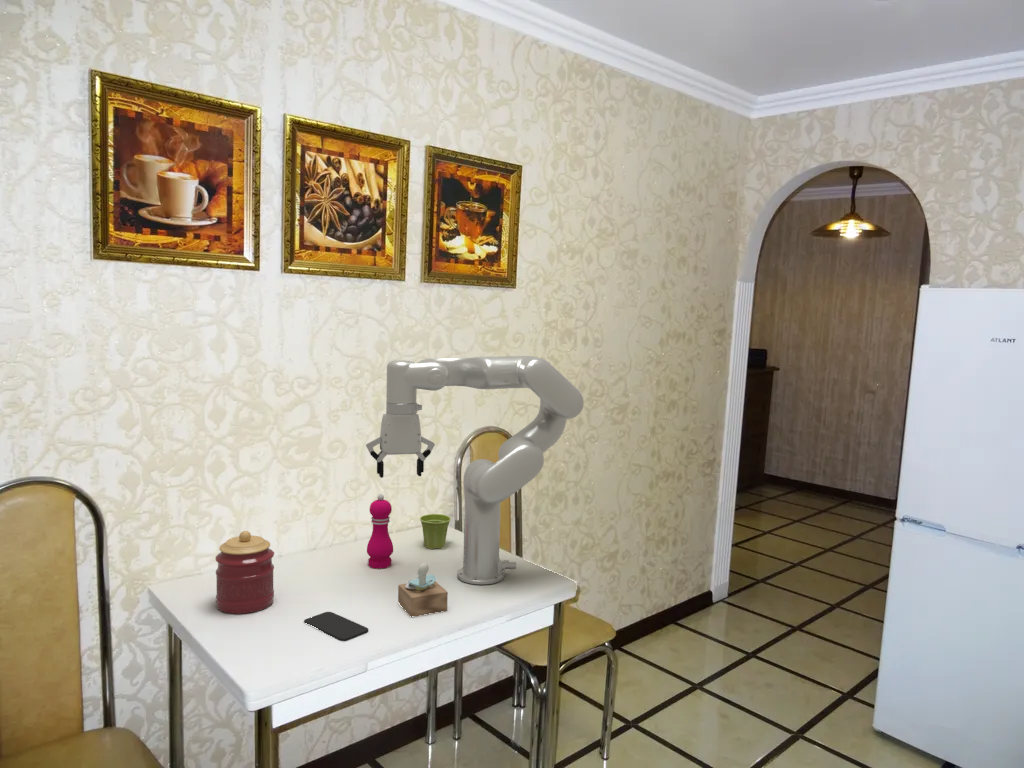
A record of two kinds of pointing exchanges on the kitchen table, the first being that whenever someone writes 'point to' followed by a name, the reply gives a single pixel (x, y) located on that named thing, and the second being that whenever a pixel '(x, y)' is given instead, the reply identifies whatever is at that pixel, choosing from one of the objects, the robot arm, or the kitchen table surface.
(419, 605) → the block
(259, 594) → the canister
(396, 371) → the robot arm
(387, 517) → the pepper mill
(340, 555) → the kitchen table surface
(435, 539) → the plant pot
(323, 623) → the phone
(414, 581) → the pacifier
